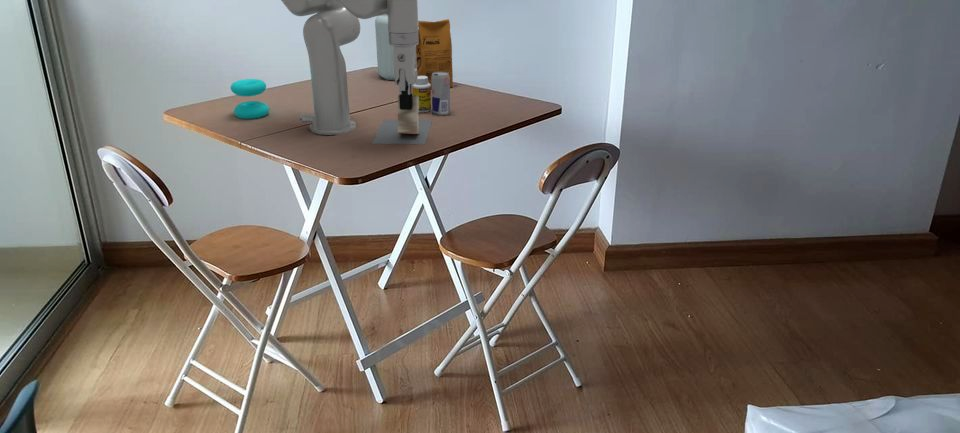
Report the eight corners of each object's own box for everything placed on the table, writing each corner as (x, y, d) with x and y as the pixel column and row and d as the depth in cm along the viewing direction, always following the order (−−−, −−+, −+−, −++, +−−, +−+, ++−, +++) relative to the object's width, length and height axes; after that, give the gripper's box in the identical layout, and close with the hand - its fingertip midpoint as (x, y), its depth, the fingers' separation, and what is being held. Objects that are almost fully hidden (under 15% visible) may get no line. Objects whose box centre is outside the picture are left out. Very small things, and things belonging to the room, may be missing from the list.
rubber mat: (371, 145, 193) (371, 143, 193) (384, 120, 213) (383, 119, 213) (425, 145, 192) (424, 144, 192) (432, 121, 212) (432, 119, 212)
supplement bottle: (418, 114, 219) (417, 80, 215) (409, 109, 223) (408, 76, 219) (434, 111, 222) (434, 77, 218) (425, 107, 226) (424, 74, 222)
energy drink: (433, 110, 222) (432, 71, 217) (450, 111, 222) (450, 71, 217) (431, 116, 217) (430, 75, 212) (449, 116, 217) (448, 75, 212)
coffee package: (413, 83, 253) (410, 18, 244) (448, 81, 256) (447, 16, 247) (418, 90, 244) (415, 23, 235) (454, 88, 247) (453, 21, 238)
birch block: (397, 133, 195) (397, 95, 194) (400, 133, 200) (400, 96, 199) (416, 133, 195) (416, 95, 194) (418, 134, 200) (418, 96, 199)
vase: (397, 83, 254) (393, 17, 245) (371, 78, 260) (367, 14, 251) (417, 76, 263) (415, 12, 254) (392, 72, 269) (389, 9, 259)
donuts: (267, 77, 220) (263, 85, 211) (271, 109, 224) (267, 119, 215) (232, 78, 218) (227, 86, 209) (237, 111, 222) (232, 120, 213)
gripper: (414, 44, 179) (417, 117, 187) (421, 33, 193) (423, 101, 200) (384, 43, 179) (387, 116, 187) (393, 32, 193) (396, 101, 200)
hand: (406, 108), depth 193 cm, fingers closed
